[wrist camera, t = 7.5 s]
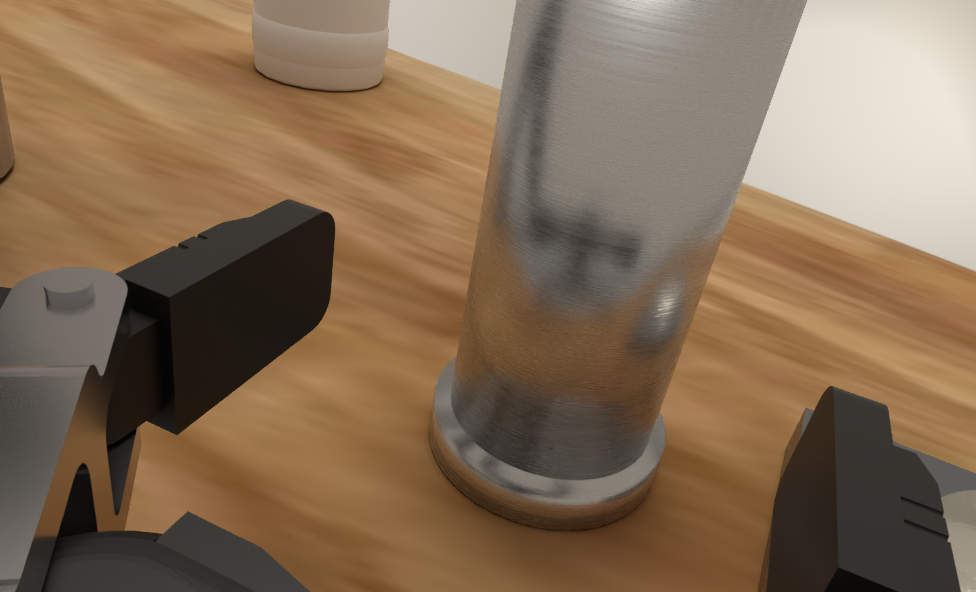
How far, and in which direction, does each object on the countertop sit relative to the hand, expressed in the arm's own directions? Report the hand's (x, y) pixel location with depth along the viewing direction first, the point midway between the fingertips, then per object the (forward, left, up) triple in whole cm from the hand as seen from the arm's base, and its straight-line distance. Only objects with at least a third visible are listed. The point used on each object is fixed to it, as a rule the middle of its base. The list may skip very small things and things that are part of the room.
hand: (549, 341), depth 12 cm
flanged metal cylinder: (+4, -4, -7) cm, 9 cm away
